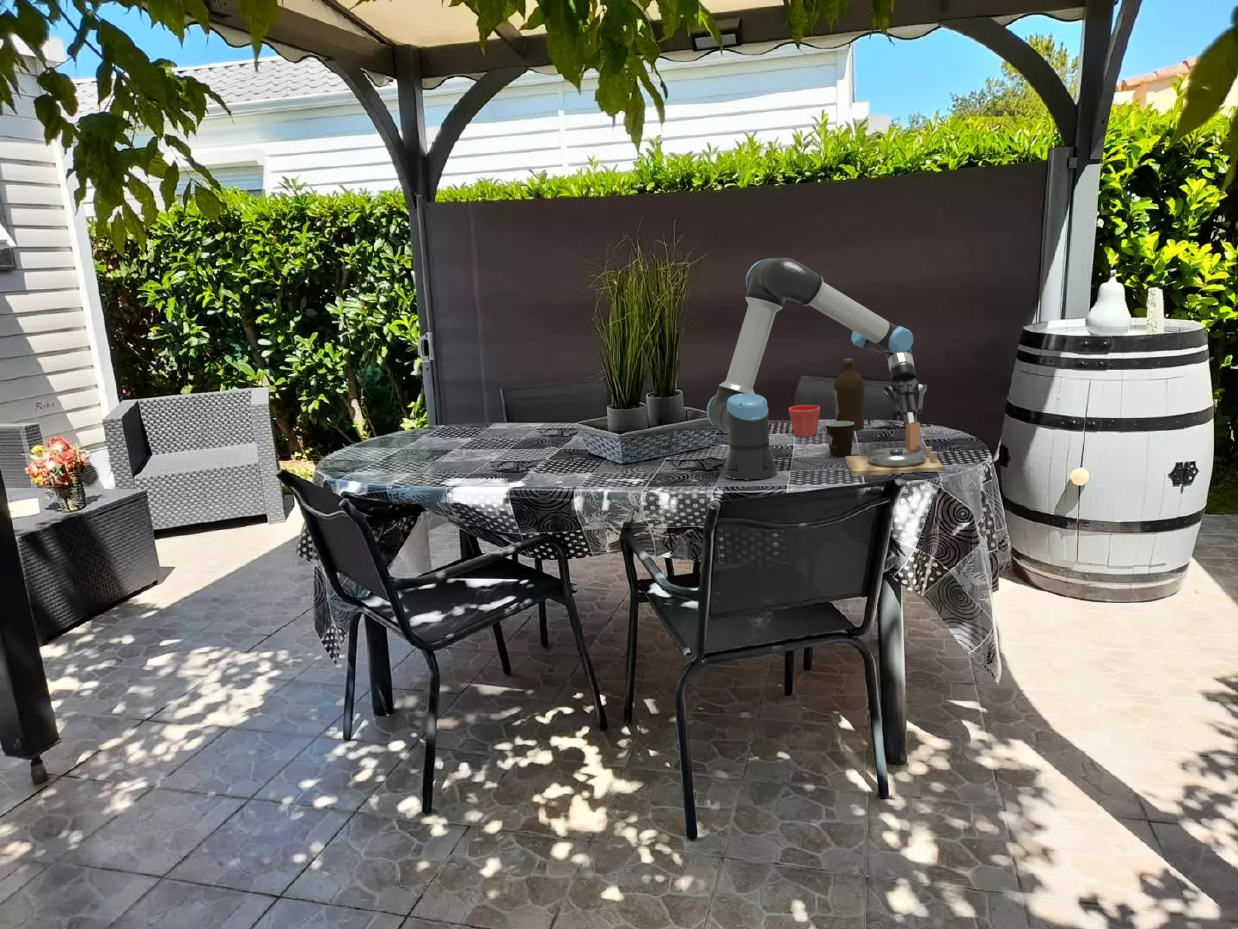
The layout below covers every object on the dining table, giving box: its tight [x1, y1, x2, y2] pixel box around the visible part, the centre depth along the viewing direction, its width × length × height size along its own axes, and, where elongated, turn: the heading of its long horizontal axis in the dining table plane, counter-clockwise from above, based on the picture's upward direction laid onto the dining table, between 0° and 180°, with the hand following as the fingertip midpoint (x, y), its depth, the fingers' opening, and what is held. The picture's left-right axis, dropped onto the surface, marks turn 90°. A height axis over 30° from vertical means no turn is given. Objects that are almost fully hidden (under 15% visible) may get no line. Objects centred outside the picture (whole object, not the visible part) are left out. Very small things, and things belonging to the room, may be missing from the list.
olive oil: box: [833, 358, 866, 432], centre depth 310 cm, size 11×11×25 cm
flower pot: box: [788, 404, 821, 437], centre depth 309 cm, size 11×11×10 cm
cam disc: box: [867, 421, 926, 467], centre depth 253 cm, size 16×16×10 cm
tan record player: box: [844, 446, 946, 477], centre depth 254 cm, size 25×19×4 cm
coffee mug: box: [825, 420, 855, 458], centre depth 275 cm, size 12×9×10 cm
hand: (912, 432), depth 261 cm, fingers closed
